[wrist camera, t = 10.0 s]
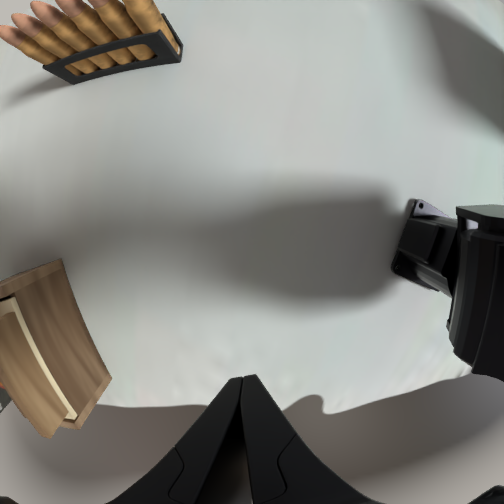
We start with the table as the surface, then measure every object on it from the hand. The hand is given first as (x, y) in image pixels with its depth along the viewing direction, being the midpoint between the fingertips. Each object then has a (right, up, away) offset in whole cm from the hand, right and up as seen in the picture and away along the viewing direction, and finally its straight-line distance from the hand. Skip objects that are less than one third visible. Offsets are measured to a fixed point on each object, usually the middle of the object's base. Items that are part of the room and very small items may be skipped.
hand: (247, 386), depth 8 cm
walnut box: (-20, -4, +14) cm, 25 cm away
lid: (-19, -5, +7) cm, 21 cm away
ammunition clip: (-11, +20, +9) cm, 25 cm away
